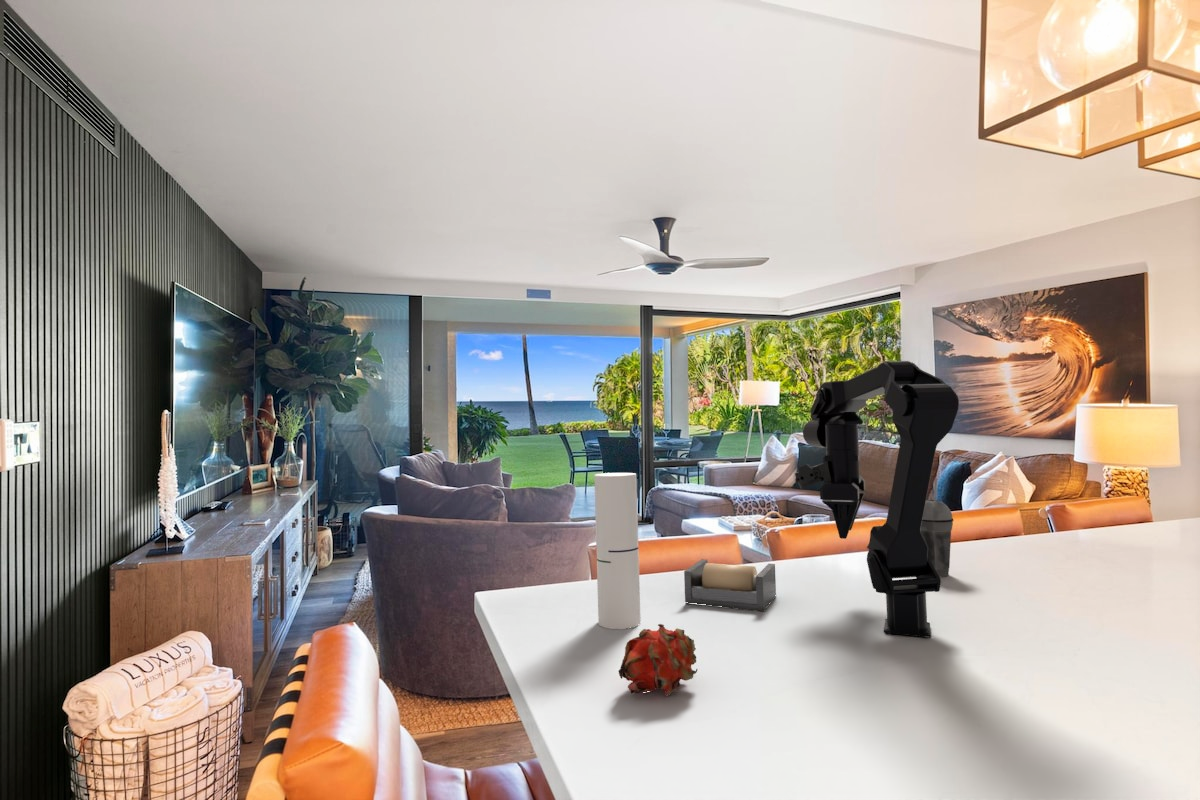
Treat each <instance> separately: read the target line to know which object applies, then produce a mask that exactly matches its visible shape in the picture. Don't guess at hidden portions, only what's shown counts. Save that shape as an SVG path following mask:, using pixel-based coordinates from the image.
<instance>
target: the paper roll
mask: <svg viewBox="0 0 1200 800" xmlns="http://www.w3.org/2000/svg"><path fill="white" fill-rule="evenodd" d="M757 575H758V571H757V568H756V566H754V565H740V564H723V563H711V562H710V563H709V562H708V563H706V564H705V566H704V569H703V574H702V585H703V587H710V588H722V589H734V590H745V591H756V576H757Z"/></svg>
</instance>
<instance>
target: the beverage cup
mask: <svg viewBox="0 0 1200 800" xmlns="http://www.w3.org/2000/svg"><path fill="white" fill-rule="evenodd" d="M933 484H934V486H933V487H934V490H933V499H928V500H927V499H926V503H925V508H924V514H923V519H922V524H921V533H922V535H923V538H924V540H925V542H926V544H927V546H928V558H929V560H930V561H931V563H932V565H933V567H934V568H935V570H936V572H937V574H938V575H939V577H940V578H947V577H949V576H950V575H949V574H950V573H949V572H950V566H951V565H950V563H951V543H952V542H951V540H952V539H951V538H952V530H953V525H954V523H953V522H954V518H953V514H952V511H951V509H950V508H949V507H948V505H947V504H945V503H944V502H942V501H941V500H938V497H937V496H938V478H934V483H933Z"/></svg>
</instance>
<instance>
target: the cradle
mask: <svg viewBox="0 0 1200 800" xmlns="http://www.w3.org/2000/svg"><path fill="white" fill-rule="evenodd" d="M706 563H709V562H708V559H704V558H703V559H702V558H701V559H700V560H698V561H697V562H695V563H694V564H693V565H691V566H690V567H688V568H687V569H685V570H684V572H683V574H684V602H688V603H697V604H706V605H712V606H722V607H729V608H728V609H733V608H738V609H737V610H743V609H748V610H747V611H753V610H758V611H757V612H765V611H766V610H765V609H767V608H768V607H769V606H770V604H771V603H772V602H773V601H774V599H775V598H776V597H775V595H776V596H777V586H776V585H777V584H776V582H777V581H776V563H768V564H766V565H765V566H764V568H762V570H760V572H759V573H757V576H756V591H745V590H734V589H722V588H710V587H703V585H702V574H703V569H704V566H705V564H706ZM774 597H775V598H774ZM773 598H774V599H773ZM772 600H773V601H772ZM771 601H772V602H771ZM770 602H771V603H770ZM769 603H770V604H769ZM768 605H769V606H768ZM712 606H711V607H712ZM767 606H768V607H767ZM722 607H721V608H722ZM766 607H767V608H766ZM764 610H765V611H764Z"/></svg>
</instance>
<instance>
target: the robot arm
mask: <svg viewBox="0 0 1200 800" xmlns="http://www.w3.org/2000/svg"><path fill="white" fill-rule="evenodd" d="M881 395H883V401H884V402H885V403H886V404H887V406H889V408H890V409H891V410H892V422H893V423H894V426H895V429H896V431H897V433H898V435H899V437H900V441H899V447H898V453H897V458H896V464H895V469H894V475H893V476H894V477H893V481H892V482H893V483H892V485H891V486H892V487H891V493H890V499H889V504H888V510H887V516H886V521H885V522H884V523H883V525H876V526H875V525H874V526H872V527H871V529H870V534H869V543H868V544H867V546H866V548H867V549H868V552H867V555H866V563H867V567H868V572H869V577H870V582H871V584H872V585H871V586H872V588H873V589H874V590H875V592H876V593H879V594H885V602H886V618H885V619H884V626H883V633H884V634H885V633H886V634H891V635H892V634H893V635H903V636H904V635H905V636H915V637H923V638H931V636H932V635H931V623H930V622H928V614H927V613H928V612H927V610H928V609H927V593H930V592H933V593H934V592H935V593H936V592H938V593H939V592H940V590H941V589H940V588H941V583H942V579H941V577H939V575H938V574H937V572H936V570H935V568H934V567H933V565H932V563H931V561H930V560H929V558H928V546H927V544H926V542H925V540H924V538H923V535H922V533H921V524H922V519H923V514H924V508H925V503H926V501H927V496H928V493H929V488H930V487H929V486H930V482H931V476H932V471H933V468H934V467H933V466H934V461H935V456H936V451H937V447H938V444H939V443H941V441H942V440H943V439H944V438H945V437H946V436H947V434H948V433H949V432H950V431H952V429H953V426H954V423H955V420H956V417H957V415H958V411H959V407H960V400H959V396H958V395H957V393H956V392H955V391H954V389H953V388H952V387H951V386H950V385H949V384H946V383H945V381H944V380H943V379H941V378H939V377H938V376H935V375H933V374H931V373H928V372H926V371H924V370H923V369H921V368H920V367H918V365H917V364H915V363H914V362H911V361H910V360H888V361H887V360H886V361H884V362H881V363H879V364H878V366H875V367H873V368H872V369H870V370H866V371H865V372H863V373H861V374H859V375H856V376H854V377H851V378H850V379H847V380H834V381H824V382H823V383H821V385H820V386H819V389H817V392H816V395H815V398H814V401H813V403H812V405H811V407H810V410H809V411H810V414H809V415H810V420H809V421H808V422H807V423H805V425H804V427H803V430H802V437H803V440H804V441H805V442H806V444H807V445H809V446H810V447H814V448H823V449H824V448H825V451H826V452H825V454H826V455H824V456H823V458H822V462H823V463H819V464H817V465H814V466H813V465H812V466H811V465H810V464H809V463H806V464H803V465H800V466H798V470H797V472H794V476H795V481H796V482H797V483H798V486H799V488H800V490H804V489H806V488H808V487H809V486H812V485H814V484H817V483H818V484H819V483H820V482H823V485H822V486H821V487H820V488H819V497H820V500H821V502H822V503H823V504H824V505H826V506H827V507H828V508H829V509H830V510H831V512H832V515H833V518H834V523H835V526H836V529H837V532H838V537H839V538H840V539H846V540H847V537H848V534H849V532H850V531H852V529H853V526H854V523H855V520H856V517H857V514H858V512H859V509H860V507H861V505H862V501H863V498H864V496H865V490H866V479H865V478H864V477H862V476H861V472H860V471H861V470H860V460H861V454H860V451H859V450H860V449H859V445H860V444H859V425H863V424H864V421H863V419H862V418H861V417H860V416H858V415H857V412H859V411H860V410H862V409H864V408H865V406H867V401H868V400H870V399H874V398H875V397H876V398H877V397H878V396H881Z"/></svg>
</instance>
